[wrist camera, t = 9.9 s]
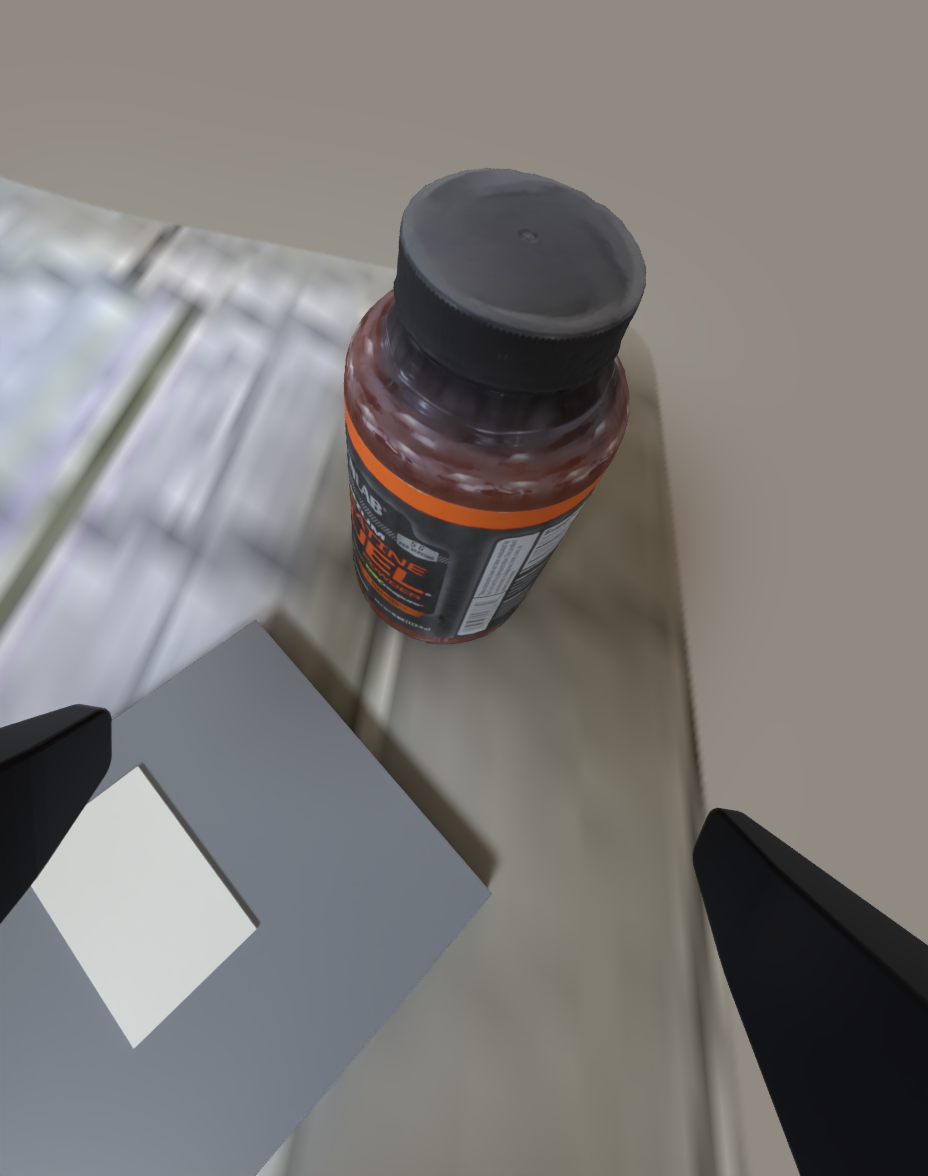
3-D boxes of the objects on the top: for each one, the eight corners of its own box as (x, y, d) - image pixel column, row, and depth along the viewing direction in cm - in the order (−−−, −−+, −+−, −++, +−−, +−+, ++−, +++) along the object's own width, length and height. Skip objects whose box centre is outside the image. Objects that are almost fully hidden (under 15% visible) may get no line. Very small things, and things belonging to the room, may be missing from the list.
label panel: (486, 890, 14) (493, 894, 13) (-262, 1774, 8) (-339, 1886, 7) (261, 629, 16) (255, 617, 15) (-470, 1149, 10) (-545, 1176, 9)
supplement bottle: (317, 555, 18) (242, 178, 8) (448, 472, 20) (522, 98, 10) (434, 688, 16) (531, 443, 6) (559, 582, 19) (775, 279, 9)
